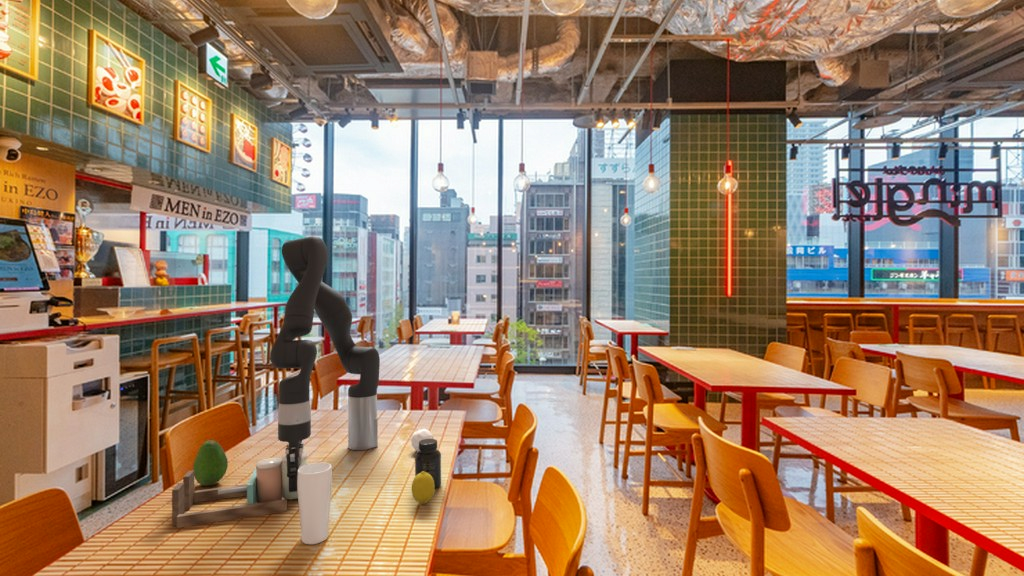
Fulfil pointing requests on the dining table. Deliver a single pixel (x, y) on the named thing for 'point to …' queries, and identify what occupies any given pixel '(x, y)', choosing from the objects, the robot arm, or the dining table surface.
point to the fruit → (210, 463)
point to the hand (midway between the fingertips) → (294, 486)
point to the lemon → (423, 487)
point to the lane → (186, 497)
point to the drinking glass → (314, 501)
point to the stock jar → (269, 480)
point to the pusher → (246, 489)
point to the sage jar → (285, 479)
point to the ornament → (420, 437)
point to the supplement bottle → (429, 460)
